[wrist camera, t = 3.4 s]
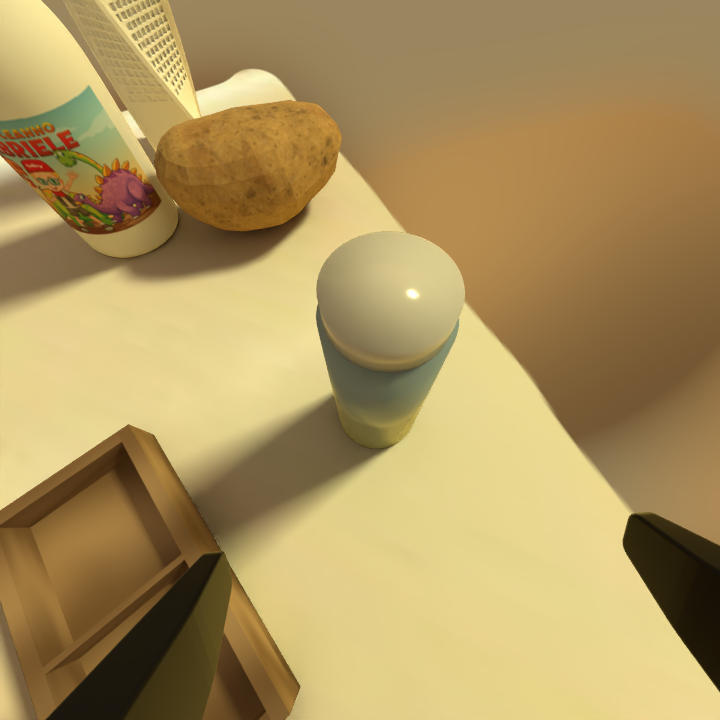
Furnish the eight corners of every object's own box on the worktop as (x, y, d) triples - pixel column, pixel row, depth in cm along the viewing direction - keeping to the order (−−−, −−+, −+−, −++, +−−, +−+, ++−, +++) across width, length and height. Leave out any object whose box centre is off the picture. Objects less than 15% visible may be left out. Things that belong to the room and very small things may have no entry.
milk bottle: (94, 204, 31) (-283, -240, 13) (181, 190, 32) (-62, -250, 14) (85, 269, 28) (-436, -204, 10) (182, 251, 28) (-135, -220, 10)
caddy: (300, 686, 16) (289, 714, 14) (143, 850, 14) (99, 915, 12) (153, 434, 22) (128, 424, 19) (23, 525, 20) (-24, 526, 17)
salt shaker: (430, 414, 22) (505, 292, 10) (372, 465, 21) (384, 392, 9) (379, 361, 24) (394, 206, 12) (323, 405, 22) (278, 279, 11)
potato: (364, 221, 30) (365, 125, 22) (206, 277, 27) (149, 188, 20) (322, 156, 34) (311, 56, 26) (180, 200, 31) (124, 103, 24)
